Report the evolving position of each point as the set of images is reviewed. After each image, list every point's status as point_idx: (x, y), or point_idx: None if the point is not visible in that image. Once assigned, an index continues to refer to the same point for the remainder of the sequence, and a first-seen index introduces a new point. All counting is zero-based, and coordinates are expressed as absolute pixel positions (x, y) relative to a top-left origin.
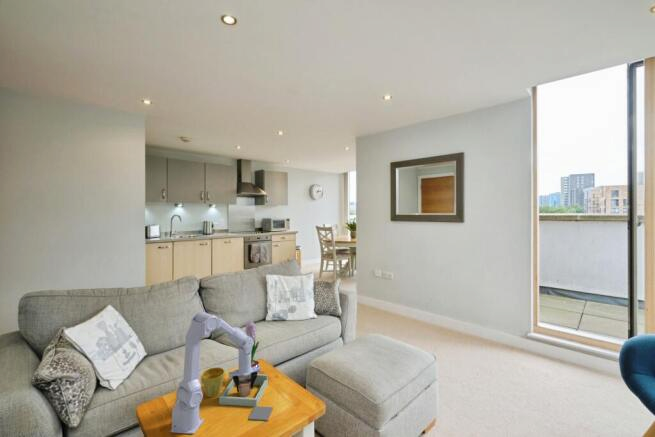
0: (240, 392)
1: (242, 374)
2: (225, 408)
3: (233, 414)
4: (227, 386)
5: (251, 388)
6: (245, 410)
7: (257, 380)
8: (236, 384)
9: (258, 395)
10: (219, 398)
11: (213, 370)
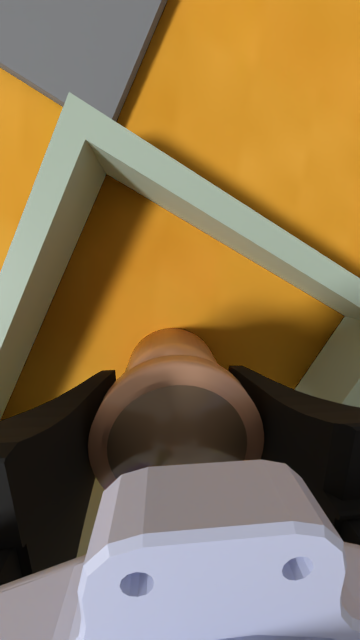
0: (215, 360)
1: (356, 588)
2: (340, 235)
3: (303, 115)
4: None
5: (110, 372)
6: (198, 127)
7: None
8: (307, 399)
9: (38, 185)
10: None
11: None
